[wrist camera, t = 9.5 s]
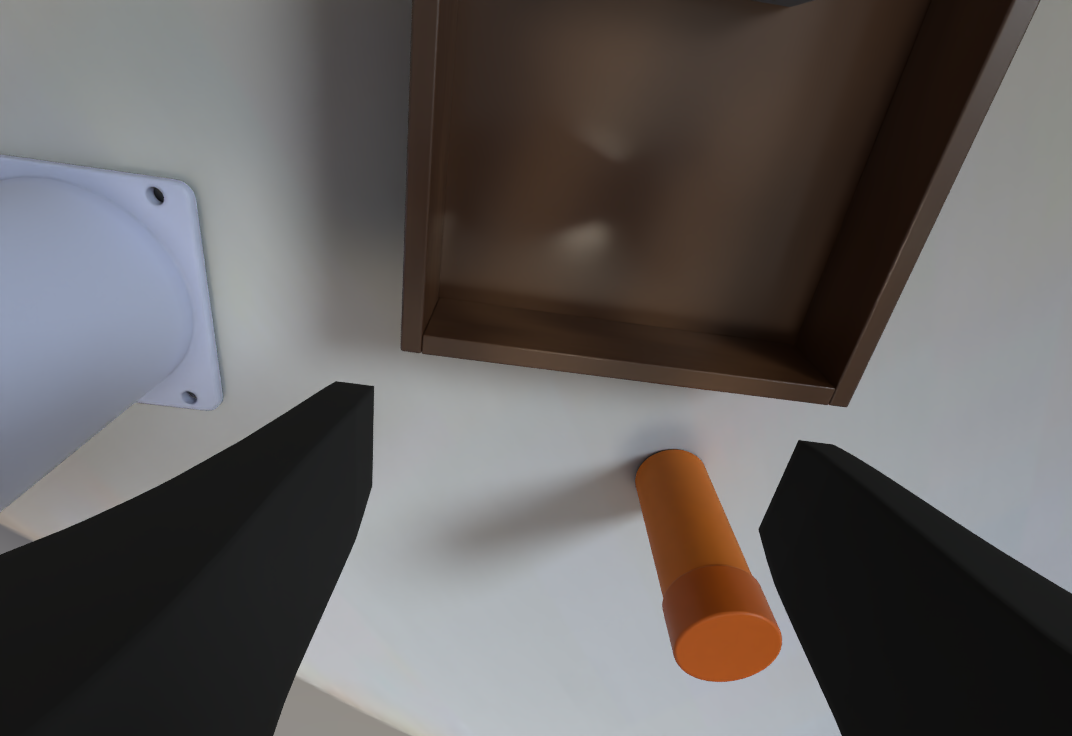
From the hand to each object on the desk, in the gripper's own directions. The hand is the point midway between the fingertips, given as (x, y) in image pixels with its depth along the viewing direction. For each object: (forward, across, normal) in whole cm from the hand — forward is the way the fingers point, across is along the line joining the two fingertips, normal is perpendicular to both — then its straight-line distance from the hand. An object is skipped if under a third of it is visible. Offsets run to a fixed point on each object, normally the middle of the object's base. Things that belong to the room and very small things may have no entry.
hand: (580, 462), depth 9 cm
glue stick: (+10, -6, +8) cm, 14 cm away
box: (+10, -2, -6) cm, 12 cm away
